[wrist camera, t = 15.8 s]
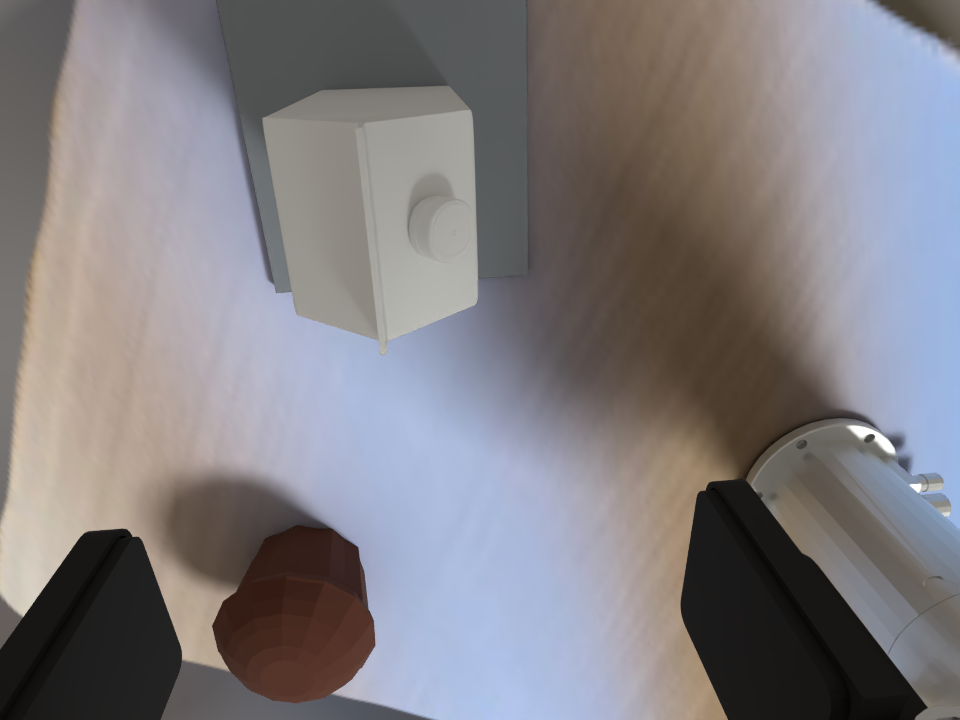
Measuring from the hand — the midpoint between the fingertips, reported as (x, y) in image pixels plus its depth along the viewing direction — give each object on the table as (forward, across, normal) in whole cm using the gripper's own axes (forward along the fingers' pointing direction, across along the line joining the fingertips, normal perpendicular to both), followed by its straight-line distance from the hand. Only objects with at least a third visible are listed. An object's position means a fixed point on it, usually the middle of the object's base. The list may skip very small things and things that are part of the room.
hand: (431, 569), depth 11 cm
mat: (+30, +2, -3) cm, 31 cm away
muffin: (+31, +12, +29) cm, 44 cm away
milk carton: (+30, +2, -3) cm, 30 cm away
